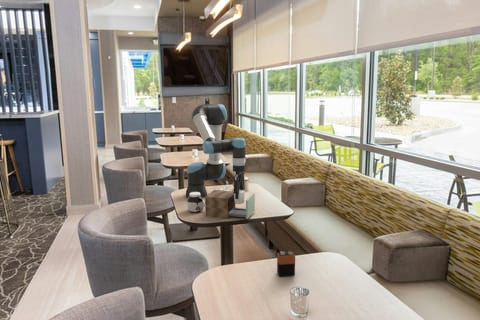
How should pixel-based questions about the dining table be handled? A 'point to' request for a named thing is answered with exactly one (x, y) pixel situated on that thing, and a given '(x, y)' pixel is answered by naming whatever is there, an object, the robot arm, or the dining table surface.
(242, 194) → the shot glass
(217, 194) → the box
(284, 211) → the dining table surface
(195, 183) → the robot arm
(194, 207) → the spread jar
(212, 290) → the dining table surface
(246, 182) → the teacup with lid
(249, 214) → the pale green angular block
